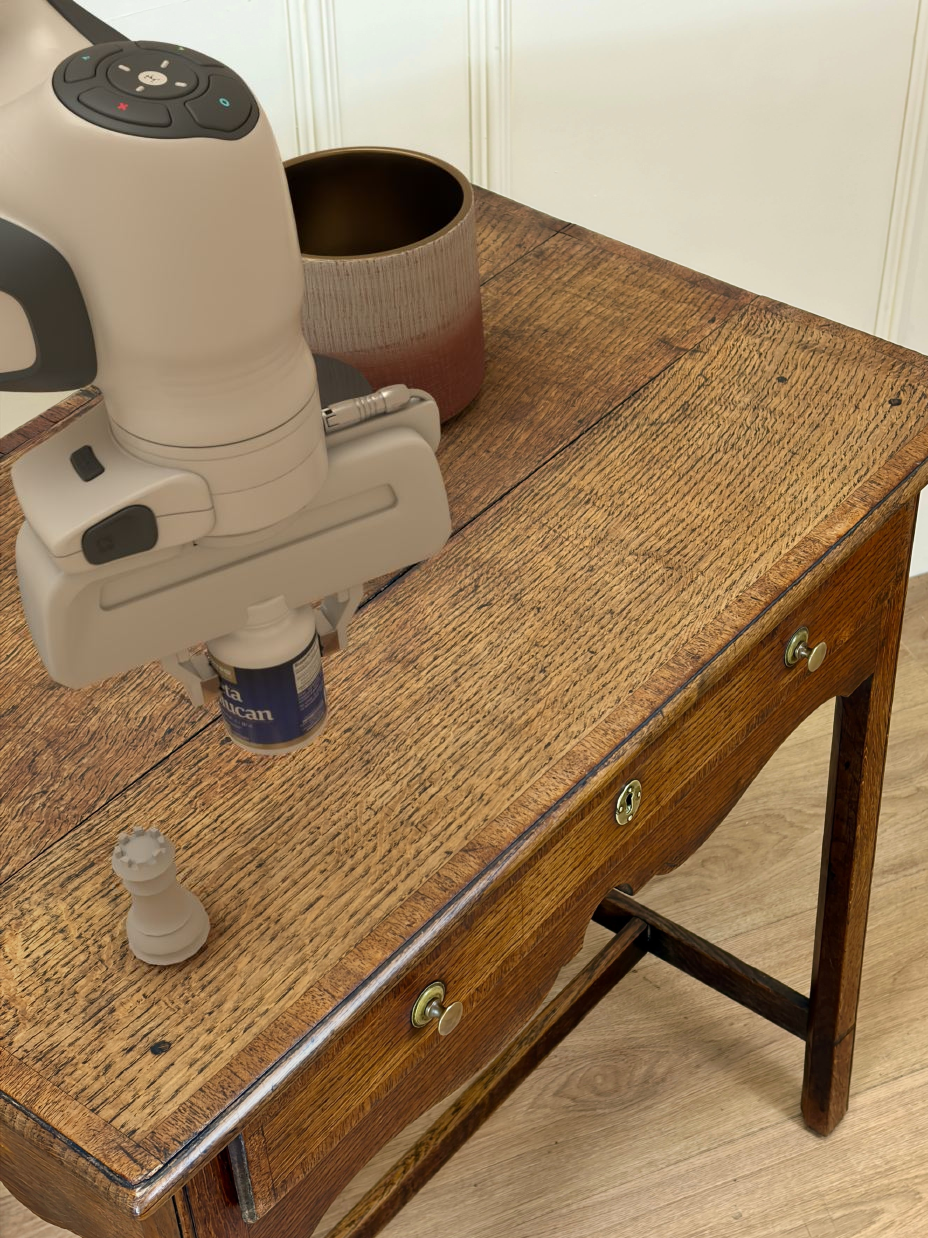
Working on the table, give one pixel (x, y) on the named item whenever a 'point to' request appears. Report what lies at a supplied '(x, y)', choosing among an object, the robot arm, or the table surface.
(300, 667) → the pill bottle
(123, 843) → the rook chess piece
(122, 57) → the robot arm
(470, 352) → the planter
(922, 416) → the table surface
